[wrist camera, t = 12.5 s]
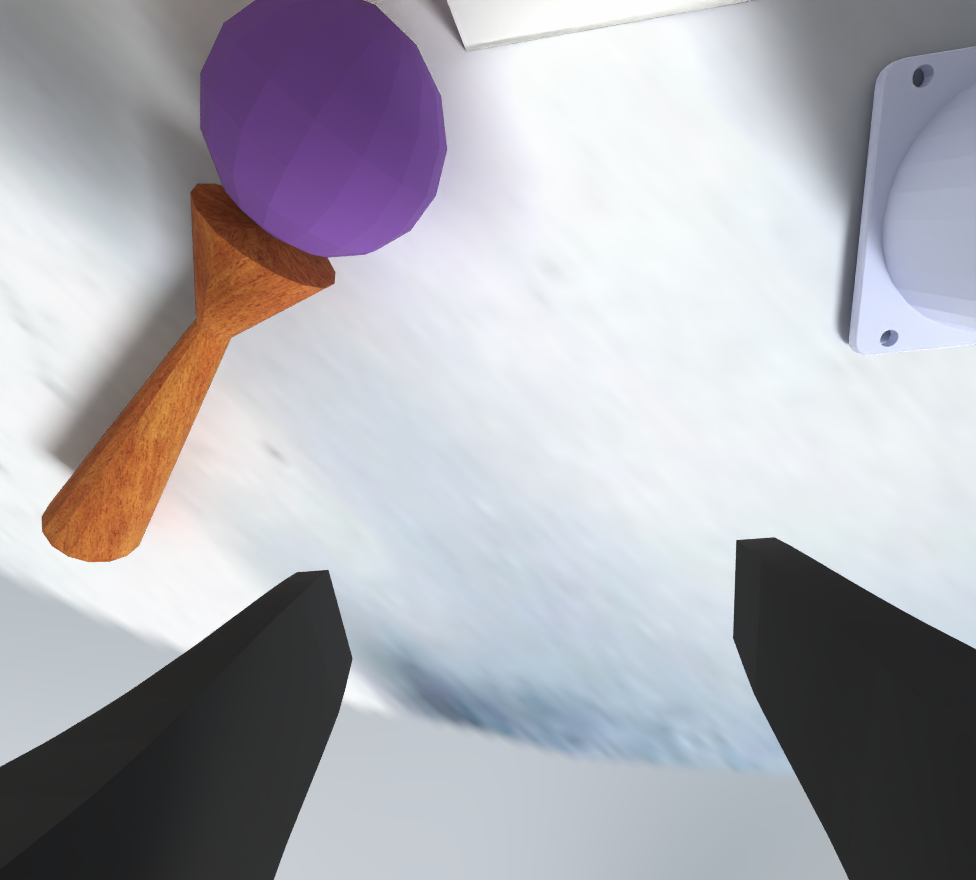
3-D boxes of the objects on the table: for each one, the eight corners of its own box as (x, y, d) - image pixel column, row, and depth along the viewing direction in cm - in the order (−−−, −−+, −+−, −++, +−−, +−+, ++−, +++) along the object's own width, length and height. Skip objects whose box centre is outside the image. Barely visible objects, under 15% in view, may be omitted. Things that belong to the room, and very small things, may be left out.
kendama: (-53, 502, 18) (214, -151, 10) (109, 447, 24) (365, -6, 16) (77, 626, 18) (443, 72, 10) (209, 543, 24) (513, 139, 16)
